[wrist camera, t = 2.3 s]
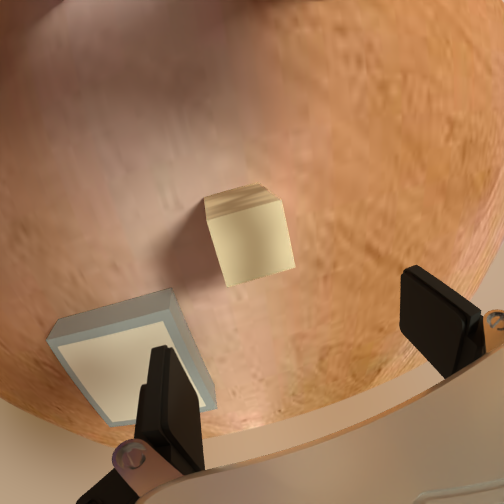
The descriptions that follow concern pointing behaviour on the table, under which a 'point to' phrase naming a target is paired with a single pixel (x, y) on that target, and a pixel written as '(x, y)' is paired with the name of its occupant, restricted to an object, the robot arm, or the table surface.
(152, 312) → the base
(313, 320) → the table surface
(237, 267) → the maple block
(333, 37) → the table surface
